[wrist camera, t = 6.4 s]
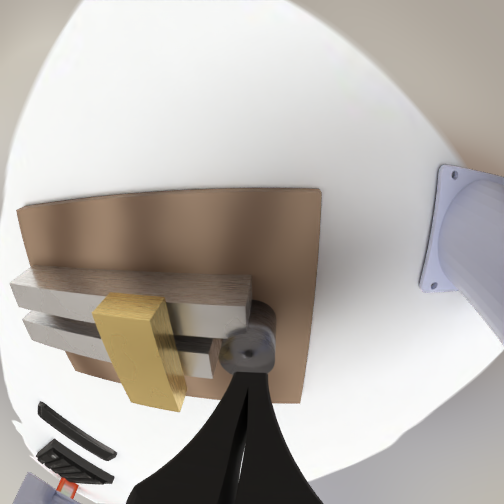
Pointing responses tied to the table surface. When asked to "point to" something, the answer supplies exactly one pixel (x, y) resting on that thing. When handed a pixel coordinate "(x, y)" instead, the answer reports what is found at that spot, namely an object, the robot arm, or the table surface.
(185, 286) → the fixed tong arm
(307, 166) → the table surface
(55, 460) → the computer keyboard
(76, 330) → the bar
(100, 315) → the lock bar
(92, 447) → the phone
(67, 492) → the file binder
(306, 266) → the walnut board
